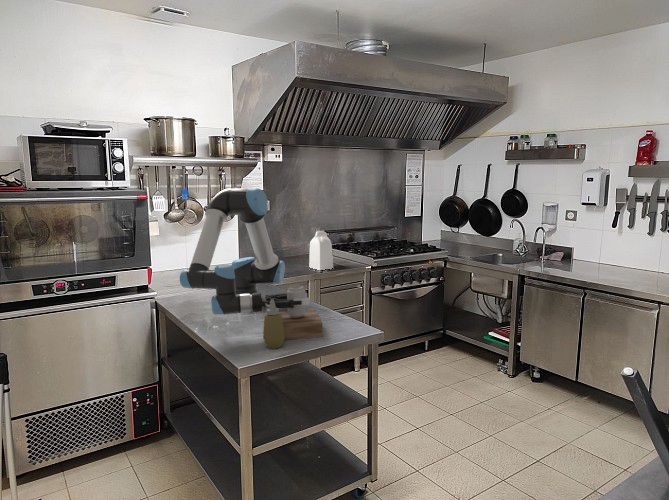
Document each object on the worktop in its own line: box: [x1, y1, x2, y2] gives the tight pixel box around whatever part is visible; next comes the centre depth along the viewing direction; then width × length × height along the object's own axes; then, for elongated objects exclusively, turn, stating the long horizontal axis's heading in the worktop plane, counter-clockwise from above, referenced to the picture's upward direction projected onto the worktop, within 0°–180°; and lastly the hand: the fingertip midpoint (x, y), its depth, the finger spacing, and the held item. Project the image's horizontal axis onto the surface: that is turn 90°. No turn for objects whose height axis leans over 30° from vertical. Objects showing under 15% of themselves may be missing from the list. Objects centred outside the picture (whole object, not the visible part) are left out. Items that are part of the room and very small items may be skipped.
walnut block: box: [279, 309, 324, 341], centre depth 196 cm, size 18×18×6 cm
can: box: [286, 285, 307, 318], centre depth 194 cm, size 8×8×12 cm
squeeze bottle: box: [262, 299, 285, 349], centre depth 178 cm, size 8×8×18 cm
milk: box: [308, 230, 334, 271], centre depth 324 cm, size 12×12×26 cm
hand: (308, 298), depth 195 cm, fingers closed on can, 7 cm apart
